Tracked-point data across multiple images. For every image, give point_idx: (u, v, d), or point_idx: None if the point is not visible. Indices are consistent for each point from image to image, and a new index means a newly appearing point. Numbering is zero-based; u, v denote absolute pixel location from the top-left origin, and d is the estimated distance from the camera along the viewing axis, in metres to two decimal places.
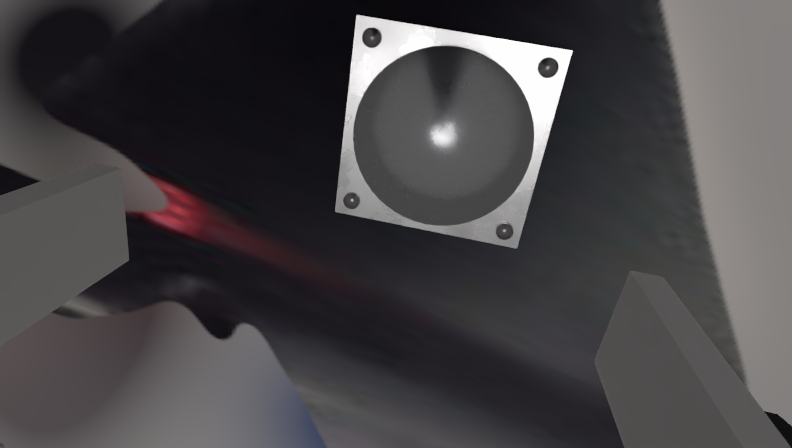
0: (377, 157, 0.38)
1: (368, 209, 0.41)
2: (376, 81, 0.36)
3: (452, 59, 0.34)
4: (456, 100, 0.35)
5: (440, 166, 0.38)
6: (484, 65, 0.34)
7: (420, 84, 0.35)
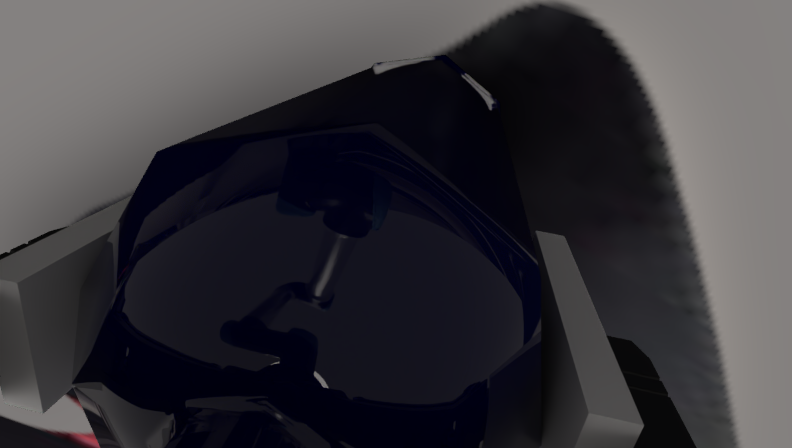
0: None
1: None
2: None
3: None
4: None
5: None
6: None
7: None
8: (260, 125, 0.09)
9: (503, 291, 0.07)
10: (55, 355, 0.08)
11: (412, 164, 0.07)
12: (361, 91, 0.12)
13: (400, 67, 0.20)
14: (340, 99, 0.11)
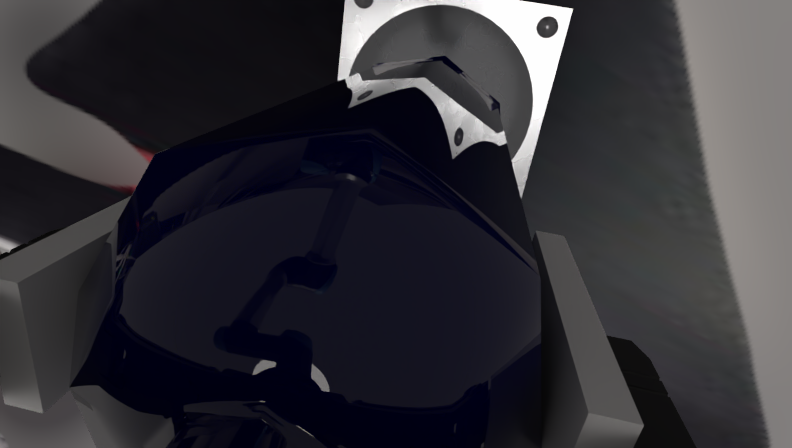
0: None
1: None
2: (368, 43, 0.35)
3: (447, 19, 0.33)
4: None
5: None
6: (481, 25, 0.33)
7: (414, 46, 0.34)
8: (259, 127, 0.09)
9: (502, 295, 0.07)
10: (55, 355, 0.08)
11: (411, 166, 0.07)
12: (360, 92, 0.12)
13: (400, 68, 0.20)
14: (339, 100, 0.11)
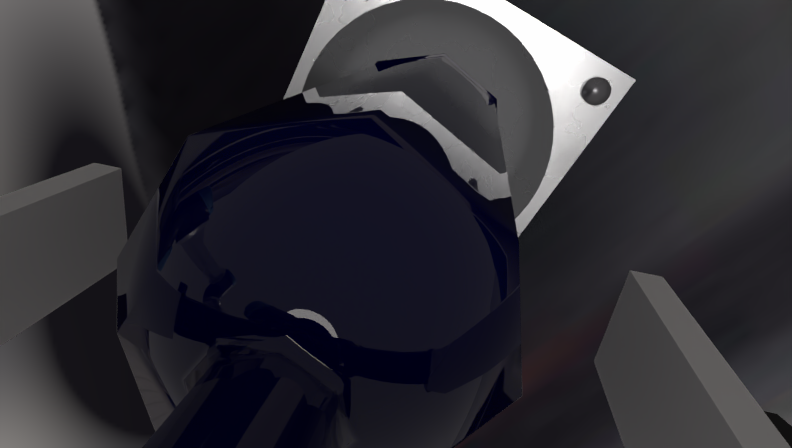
0: None
1: None
2: None
3: None
4: None
5: None
6: (340, 47, 0.25)
7: None
8: (275, 114, 0.10)
9: (485, 255, 0.08)
10: None
11: (408, 146, 0.08)
12: (364, 86, 0.14)
13: (401, 65, 0.21)
14: (345, 93, 0.12)
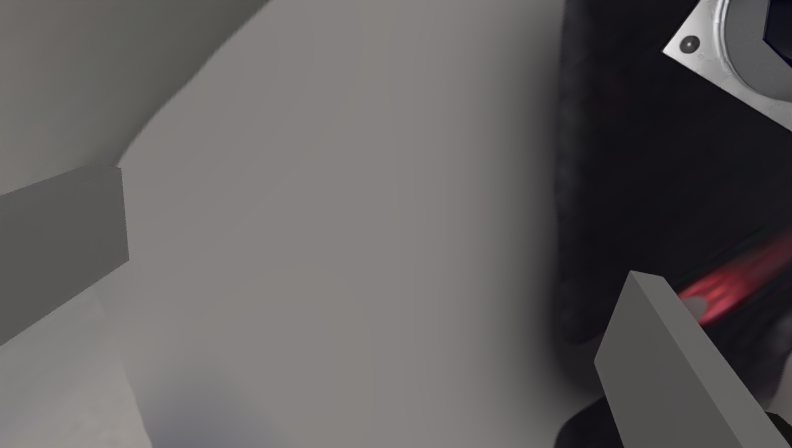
0: None
1: None
2: (733, 53, 0.38)
3: None
4: None
5: None
6: None
7: (763, 10, 0.36)
8: None
9: None
10: None
11: None
12: None
13: None
14: None
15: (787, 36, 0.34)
